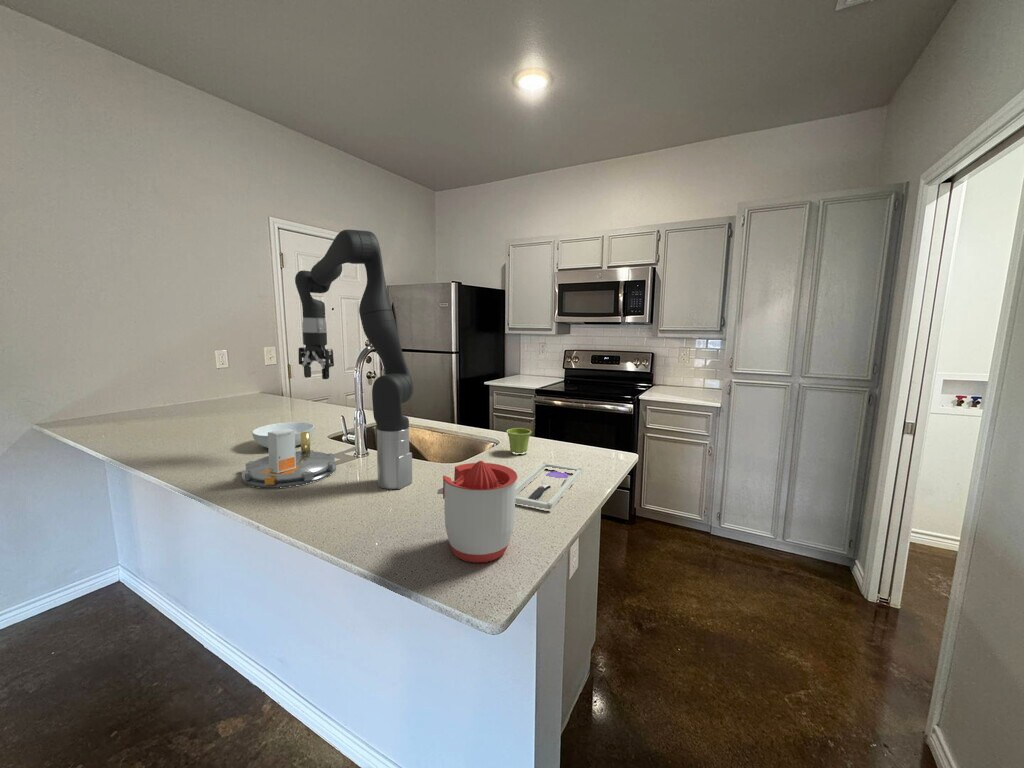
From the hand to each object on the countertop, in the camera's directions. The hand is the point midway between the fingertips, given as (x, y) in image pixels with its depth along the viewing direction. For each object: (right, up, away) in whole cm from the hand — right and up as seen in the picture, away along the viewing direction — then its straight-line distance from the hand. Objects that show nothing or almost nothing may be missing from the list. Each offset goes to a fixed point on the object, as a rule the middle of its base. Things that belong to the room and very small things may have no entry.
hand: (316, 378), depth 146 cm
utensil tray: (+78, -33, -19) cm, 87 cm away
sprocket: (-2, -29, -13) cm, 32 cm away
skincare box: (-1, -28, -20) cm, 34 cm away
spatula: (+78, -34, -22) cm, 88 cm away
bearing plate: (-2, -30, -13) cm, 33 cm away
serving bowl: (-20, -26, +16) cm, 36 cm away
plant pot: (+70, -29, +14) cm, 77 cm away
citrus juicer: (+60, -38, -55) cm, 90 cm away
